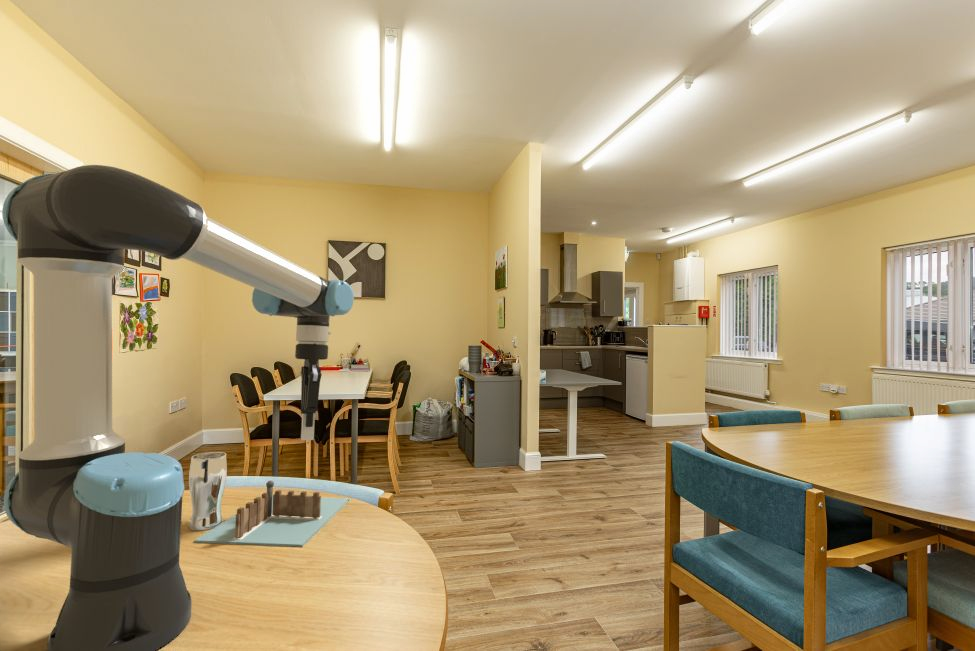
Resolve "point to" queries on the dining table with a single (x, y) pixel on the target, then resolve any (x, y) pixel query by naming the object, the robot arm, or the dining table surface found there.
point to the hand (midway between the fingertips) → (307, 439)
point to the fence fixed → (254, 512)
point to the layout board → (276, 528)
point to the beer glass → (207, 489)
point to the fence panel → (296, 504)
